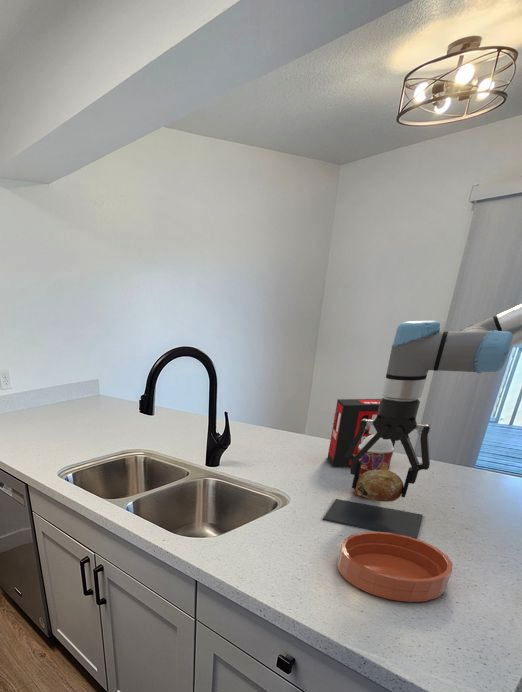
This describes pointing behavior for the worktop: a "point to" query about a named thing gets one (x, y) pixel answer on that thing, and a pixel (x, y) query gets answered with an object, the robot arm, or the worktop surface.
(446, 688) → the worktop surface
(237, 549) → the worktop surface
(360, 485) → the bread roll
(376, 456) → the smoothie
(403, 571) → the bowl
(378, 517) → the placemat
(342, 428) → the cleaning product box
